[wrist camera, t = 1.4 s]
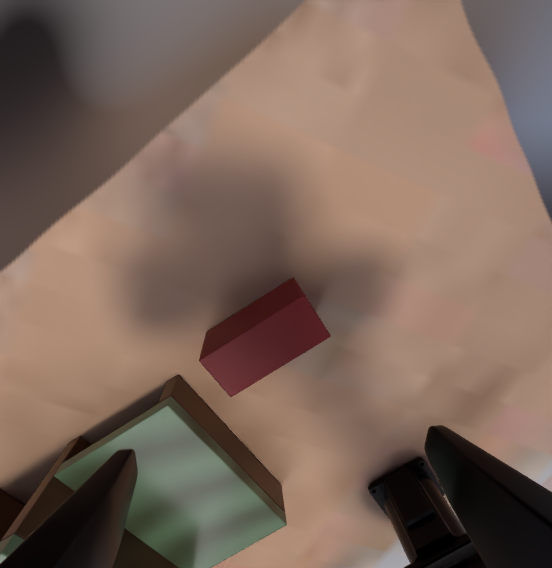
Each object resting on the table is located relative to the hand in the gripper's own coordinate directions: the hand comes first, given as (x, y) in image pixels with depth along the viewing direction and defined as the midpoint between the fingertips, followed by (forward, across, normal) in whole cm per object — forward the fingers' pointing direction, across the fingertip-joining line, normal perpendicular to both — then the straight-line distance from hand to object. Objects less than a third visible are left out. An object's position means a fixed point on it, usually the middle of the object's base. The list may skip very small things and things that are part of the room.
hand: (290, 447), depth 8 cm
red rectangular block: (+14, 0, +2) cm, 14 cm away
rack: (+14, +11, +19) cm, 25 cm away
